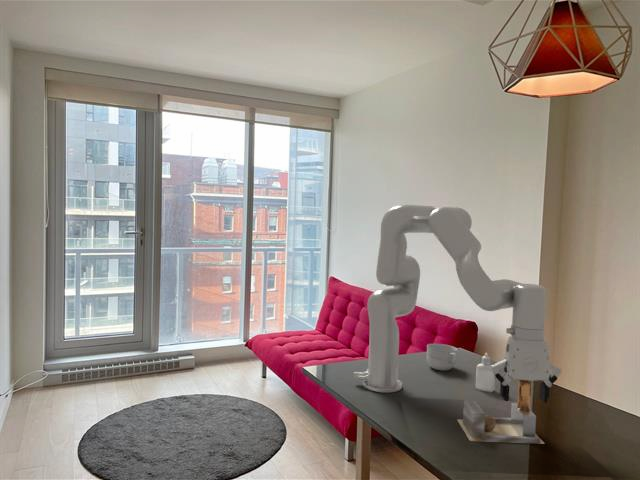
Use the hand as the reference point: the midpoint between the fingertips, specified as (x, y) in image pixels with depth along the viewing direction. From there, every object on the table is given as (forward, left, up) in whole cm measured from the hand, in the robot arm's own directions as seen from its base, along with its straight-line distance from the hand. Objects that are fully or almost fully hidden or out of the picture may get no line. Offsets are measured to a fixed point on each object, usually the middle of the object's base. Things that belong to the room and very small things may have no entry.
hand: (524, 399), depth 122 cm
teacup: (-8, +52, -10) cm, 54 cm away
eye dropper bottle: (+1, +33, -10) cm, 34 cm away
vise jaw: (0, 0, -8) cm, 8 cm away
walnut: (-9, 0, -8) cm, 12 cm away
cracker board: (-6, 0, -10) cm, 11 cm away
